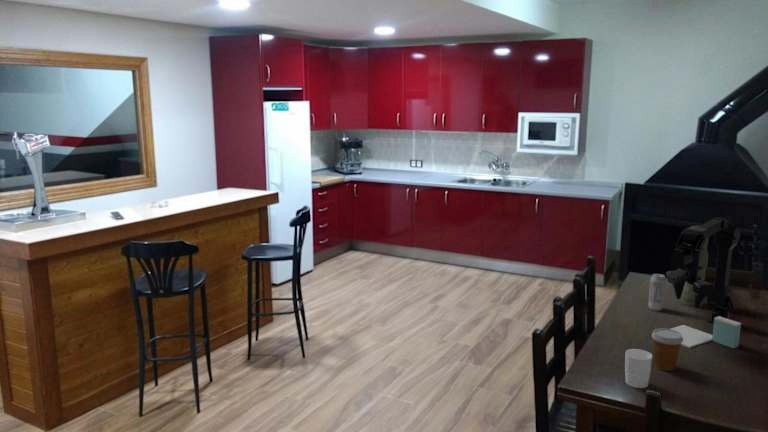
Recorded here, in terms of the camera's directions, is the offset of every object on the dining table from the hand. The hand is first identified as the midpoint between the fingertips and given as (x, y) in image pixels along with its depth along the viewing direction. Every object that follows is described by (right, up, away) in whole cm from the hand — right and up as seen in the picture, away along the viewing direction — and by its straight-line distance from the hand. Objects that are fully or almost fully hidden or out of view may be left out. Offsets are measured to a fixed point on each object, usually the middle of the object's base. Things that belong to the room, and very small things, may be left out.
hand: (687, 303), depth 215 cm
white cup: (-33, -21, -32) cm, 50 cm away
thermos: (+22, -6, +39) cm, 45 cm away
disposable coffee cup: (-18, -19, -21) cm, 33 cm away
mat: (+2, -13, +4) cm, 14 cm away
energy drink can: (+4, -8, +33) cm, 34 cm away
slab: (+13, -15, -3) cm, 19 cm away
